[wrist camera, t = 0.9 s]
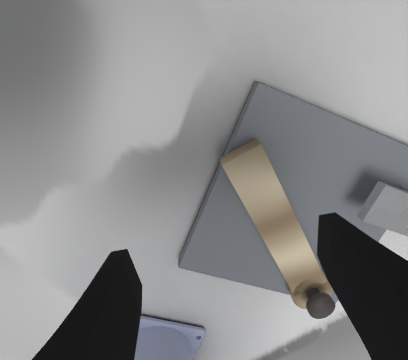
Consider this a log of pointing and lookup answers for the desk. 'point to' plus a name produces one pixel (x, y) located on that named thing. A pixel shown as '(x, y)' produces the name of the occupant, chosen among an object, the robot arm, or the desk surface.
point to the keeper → (387, 208)
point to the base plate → (291, 185)
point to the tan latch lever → (278, 227)
